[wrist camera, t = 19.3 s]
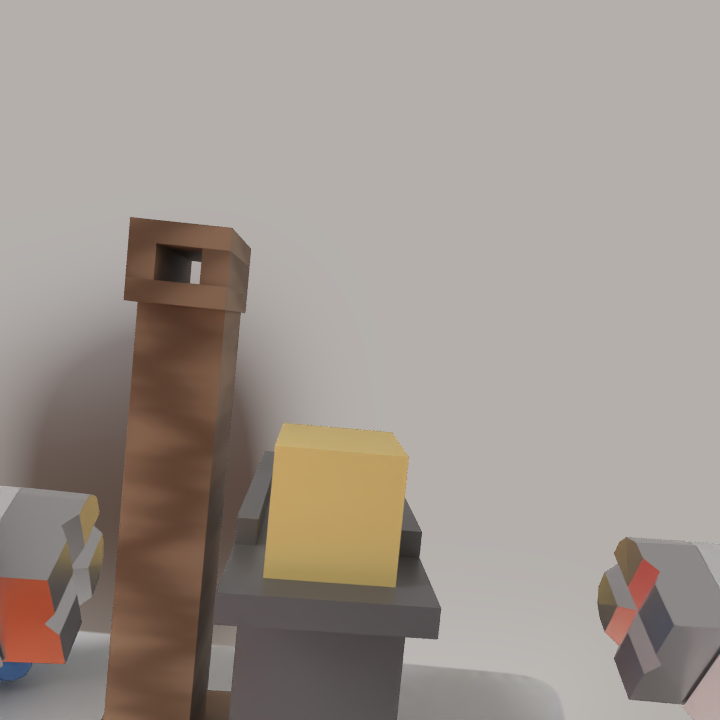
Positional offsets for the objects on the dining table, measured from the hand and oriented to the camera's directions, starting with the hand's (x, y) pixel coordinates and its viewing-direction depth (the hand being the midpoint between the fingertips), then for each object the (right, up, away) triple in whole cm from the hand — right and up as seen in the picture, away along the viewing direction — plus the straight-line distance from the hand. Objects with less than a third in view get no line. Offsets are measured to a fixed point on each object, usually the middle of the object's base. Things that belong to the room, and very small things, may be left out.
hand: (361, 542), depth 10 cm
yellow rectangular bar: (-2, -4, +20) cm, 21 cm away
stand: (-11, -19, +24) cm, 33 cm away
